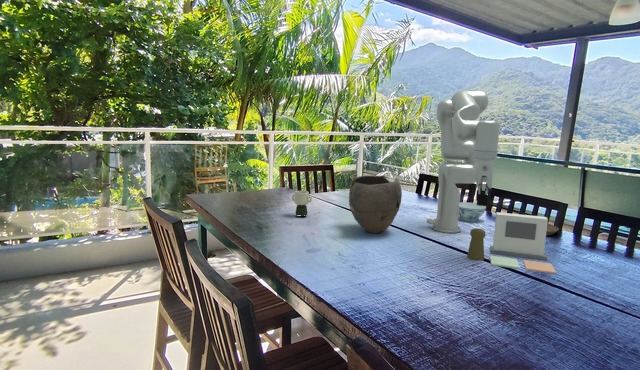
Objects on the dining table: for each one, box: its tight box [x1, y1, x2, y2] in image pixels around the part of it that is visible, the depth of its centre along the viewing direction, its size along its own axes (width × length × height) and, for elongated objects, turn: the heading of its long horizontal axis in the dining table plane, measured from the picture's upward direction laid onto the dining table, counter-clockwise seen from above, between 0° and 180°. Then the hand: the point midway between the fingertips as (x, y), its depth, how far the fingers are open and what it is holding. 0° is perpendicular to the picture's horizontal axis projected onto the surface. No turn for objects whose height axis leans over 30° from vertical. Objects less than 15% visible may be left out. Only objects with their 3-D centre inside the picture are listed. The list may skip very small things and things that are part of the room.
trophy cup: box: [291, 190, 313, 216], centre depth 197 cm, size 11×7×13 cm, turn 69°
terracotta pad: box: [522, 259, 557, 275], centre depth 134 cm, size 9×9×1 cm
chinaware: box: [459, 201, 487, 222], centre depth 199 cm, size 15×15×8 cm
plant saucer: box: [546, 222, 559, 237], centre depth 181 cm, size 21×21×3 cm
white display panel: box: [489, 211, 549, 261], centre depth 146 cm, size 19×6×15 cm, turn 69°
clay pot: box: [348, 175, 403, 234], centre depth 171 cm, size 24×24×25 cm
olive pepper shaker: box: [466, 227, 487, 261], centre depth 142 cm, size 6×6×11 cm
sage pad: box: [489, 255, 521, 270], centre depth 138 cm, size 9×9×1 cm
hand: (481, 203), depth 139 cm, fingers open, 9 cm apart
